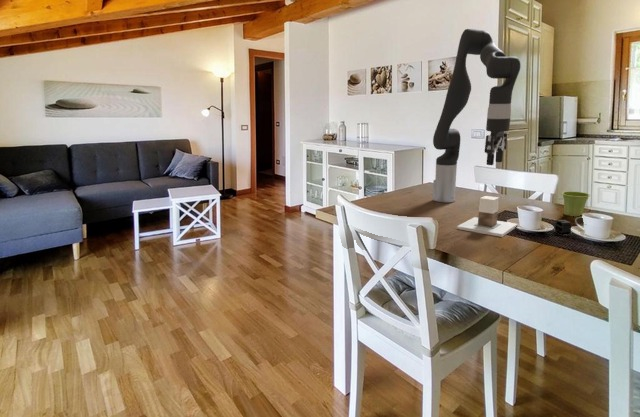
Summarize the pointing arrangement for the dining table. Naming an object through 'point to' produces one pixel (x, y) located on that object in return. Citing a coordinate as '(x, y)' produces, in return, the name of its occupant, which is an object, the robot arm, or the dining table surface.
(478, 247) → the dining table surface
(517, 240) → the dining table surface
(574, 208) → the plant pot
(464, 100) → the robot arm
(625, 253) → the dining table surface
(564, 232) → the black irregular block
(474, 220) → the board
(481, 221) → the walnut block
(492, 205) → the cream block
